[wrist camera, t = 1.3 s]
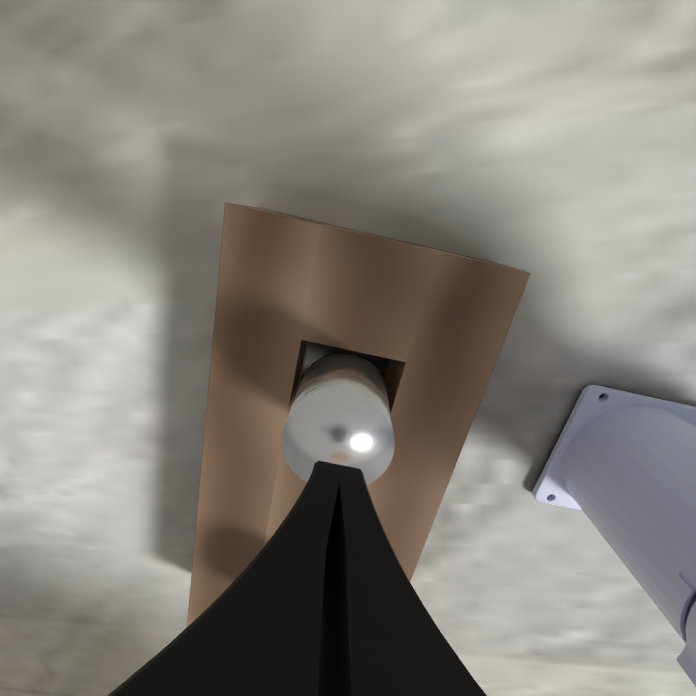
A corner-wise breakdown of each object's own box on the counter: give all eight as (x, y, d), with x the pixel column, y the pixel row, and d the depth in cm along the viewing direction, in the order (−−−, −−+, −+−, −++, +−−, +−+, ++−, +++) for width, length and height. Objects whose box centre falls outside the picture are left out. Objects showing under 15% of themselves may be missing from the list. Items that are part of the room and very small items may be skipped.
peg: (396, 363, 16) (408, 408, 12) (375, 438, 17) (379, 500, 13) (308, 344, 15) (290, 383, 12) (293, 421, 17) (273, 479, 13)
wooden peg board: (493, 262, 17) (530, 273, 14) (370, 611, 26) (372, 677, 22) (255, 207, 17) (225, 203, 13) (211, 581, 26) (185, 643, 22)
